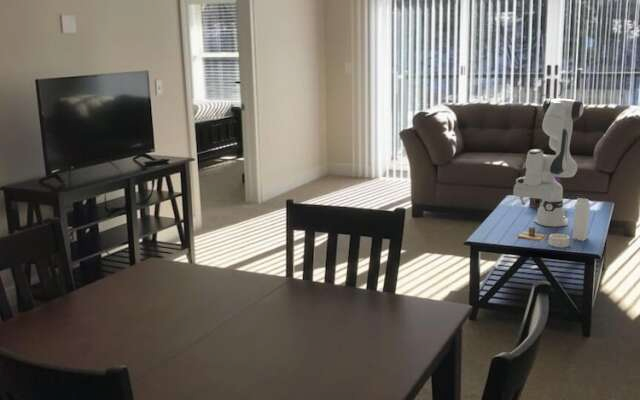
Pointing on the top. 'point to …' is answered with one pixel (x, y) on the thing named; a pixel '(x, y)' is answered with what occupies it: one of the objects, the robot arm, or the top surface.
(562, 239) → the bowl
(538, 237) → the lid
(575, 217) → the milk
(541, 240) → the mat
